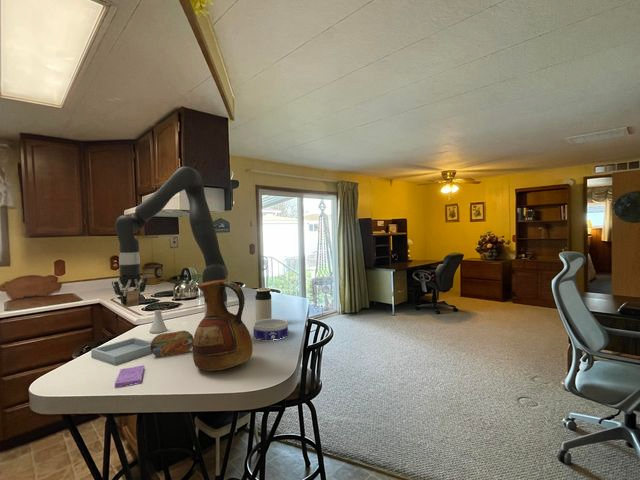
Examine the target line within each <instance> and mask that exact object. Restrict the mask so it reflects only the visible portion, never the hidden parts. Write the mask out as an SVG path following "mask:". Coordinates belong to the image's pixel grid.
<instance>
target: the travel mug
mask: <svg viewBox="0 0 640 480" xmlns="http://www.w3.org/2000/svg"><path fill="white" fill-rule="evenodd" d="M255 291H256V293H255V299H254V300H255V322H256V321H259V320H264V319H273V317H272V316H273V314H272V293H271V291H272V290H271V288H269V287H268V288H267V287H262V288H257V289H255Z"/></svg>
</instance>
